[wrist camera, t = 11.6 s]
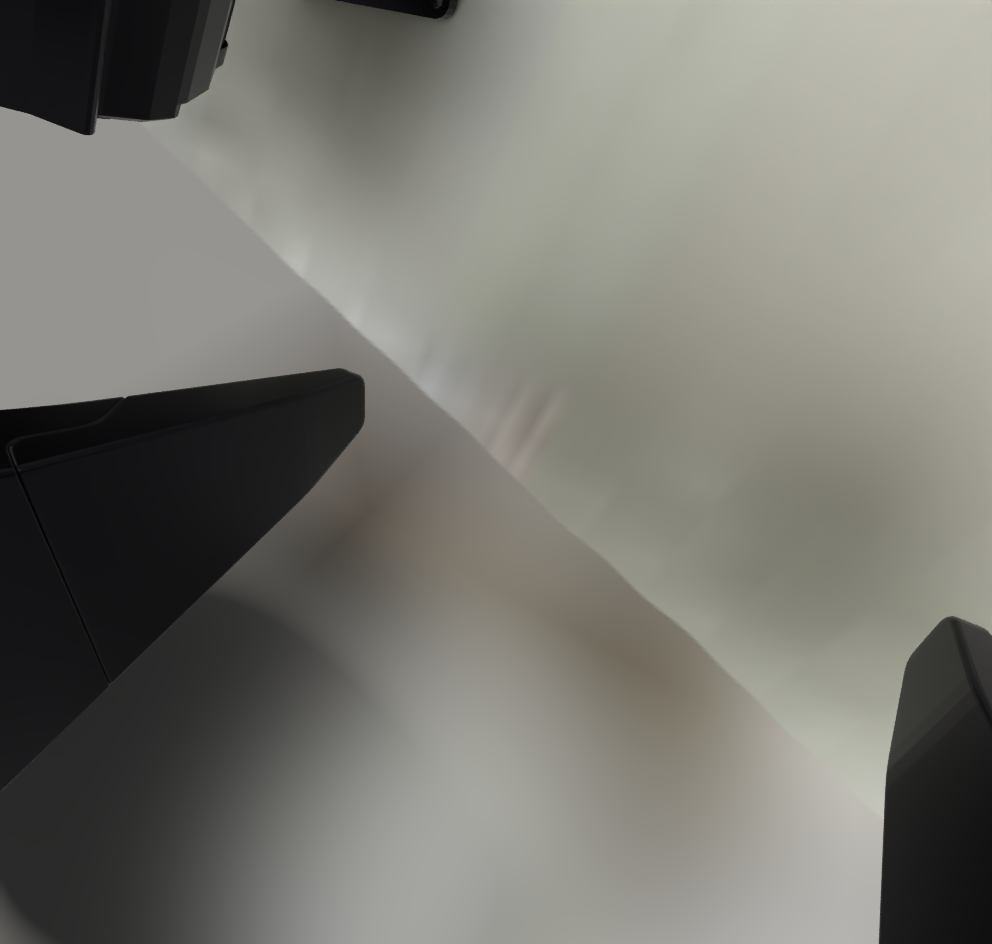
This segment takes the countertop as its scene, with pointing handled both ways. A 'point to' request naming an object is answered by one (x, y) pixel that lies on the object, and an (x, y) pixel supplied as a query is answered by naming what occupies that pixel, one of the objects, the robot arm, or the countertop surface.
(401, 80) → the countertop surface
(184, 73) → the robot arm
